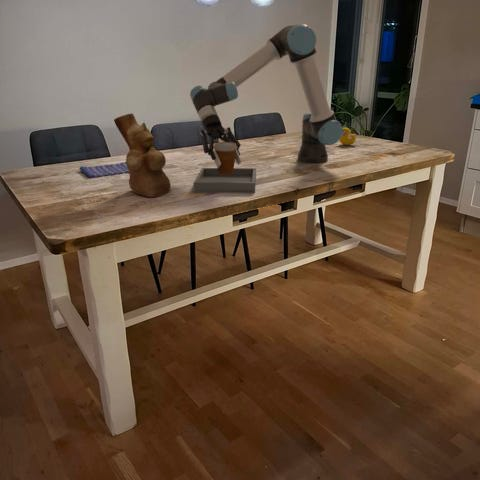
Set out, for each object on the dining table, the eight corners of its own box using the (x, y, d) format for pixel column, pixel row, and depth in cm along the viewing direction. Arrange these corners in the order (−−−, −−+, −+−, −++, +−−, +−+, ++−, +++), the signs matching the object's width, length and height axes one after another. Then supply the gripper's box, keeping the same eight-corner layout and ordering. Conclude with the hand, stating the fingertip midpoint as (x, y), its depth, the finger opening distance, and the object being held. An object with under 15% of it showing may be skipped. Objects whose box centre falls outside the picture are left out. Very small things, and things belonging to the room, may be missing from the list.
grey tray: (256, 177, 202) (256, 168, 200) (254, 192, 180) (254, 183, 178) (202, 176, 203) (201, 167, 202) (194, 192, 181) (193, 182, 179)
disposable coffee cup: (210, 174, 187) (209, 145, 182) (219, 169, 195) (219, 140, 191) (231, 176, 184) (231, 147, 179) (240, 171, 192) (240, 142, 187)
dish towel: (78, 171, 215) (78, 165, 214) (127, 165, 226) (127, 159, 225) (88, 180, 202) (87, 173, 200) (139, 172, 213) (139, 166, 212)
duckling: (334, 144, 268) (335, 127, 264) (337, 143, 272) (338, 126, 268) (353, 146, 263) (355, 128, 259) (356, 144, 267) (357, 127, 263)
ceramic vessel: (152, 200, 171) (145, 118, 160) (111, 192, 182) (101, 114, 171) (178, 190, 184) (174, 113, 172) (138, 182, 195) (131, 110, 183)
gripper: (229, 122, 200) (248, 166, 194) (183, 127, 189) (203, 172, 183) (235, 111, 194) (255, 155, 188) (189, 115, 183) (209, 162, 177)
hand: (229, 164), depth 185 cm, fingers closed on disposable coffee cup, 9 cm apart
